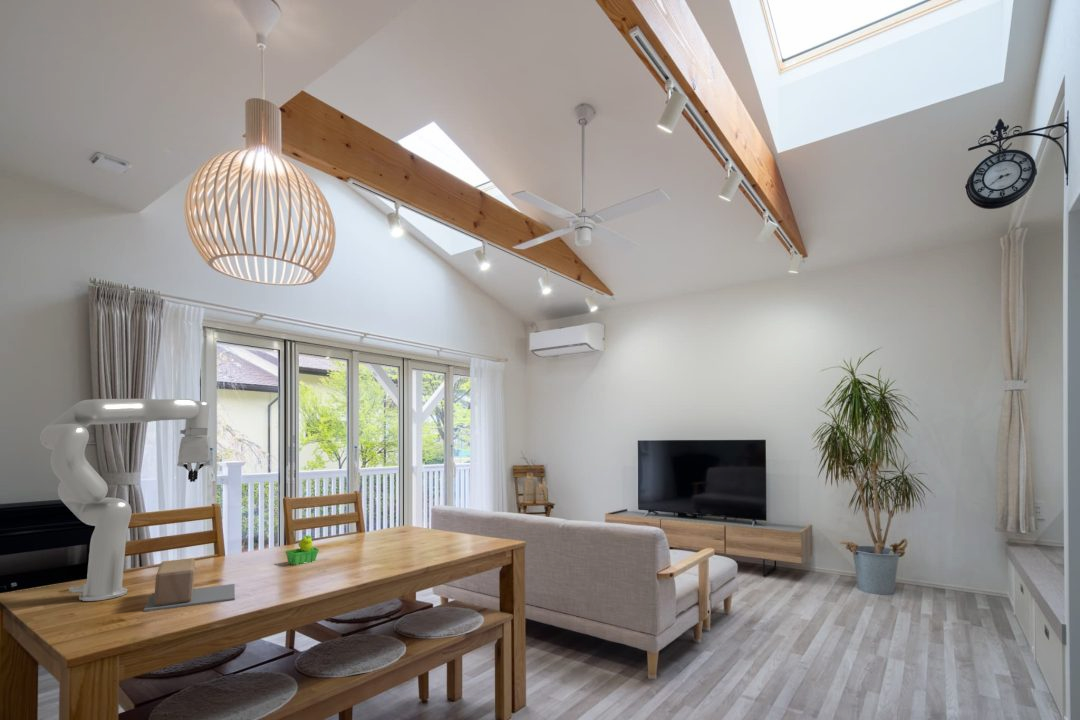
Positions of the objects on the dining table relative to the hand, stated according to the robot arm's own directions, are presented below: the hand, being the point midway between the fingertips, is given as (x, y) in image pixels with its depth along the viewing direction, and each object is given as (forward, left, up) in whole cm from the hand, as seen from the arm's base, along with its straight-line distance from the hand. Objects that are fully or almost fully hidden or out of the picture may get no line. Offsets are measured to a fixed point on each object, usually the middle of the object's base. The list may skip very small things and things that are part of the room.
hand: (192, 481), depth 214 cm
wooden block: (-2, -22, -30) cm, 37 cm away
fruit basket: (+41, +4, -35) cm, 54 cm away
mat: (+4, -33, -35) cm, 48 cm away
